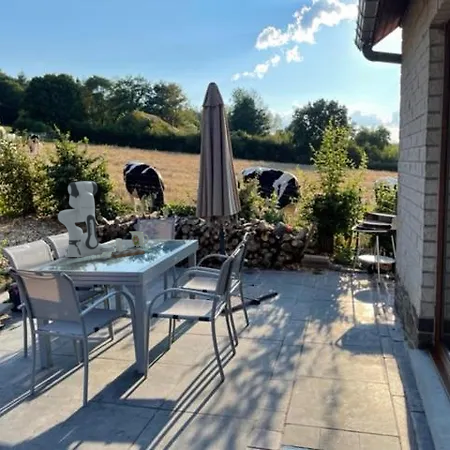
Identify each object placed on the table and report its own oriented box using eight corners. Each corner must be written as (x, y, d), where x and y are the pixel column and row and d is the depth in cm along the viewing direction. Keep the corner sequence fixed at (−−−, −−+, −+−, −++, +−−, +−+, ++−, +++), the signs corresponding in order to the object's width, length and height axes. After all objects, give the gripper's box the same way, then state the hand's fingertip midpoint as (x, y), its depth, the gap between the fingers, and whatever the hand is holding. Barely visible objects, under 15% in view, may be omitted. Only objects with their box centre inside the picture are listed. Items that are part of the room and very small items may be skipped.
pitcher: (146, 247, 417) (145, 232, 415) (127, 247, 420) (126, 232, 419) (150, 245, 427) (150, 230, 426) (132, 245, 431) (131, 230, 429)
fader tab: (118, 254, 376) (117, 239, 374) (116, 253, 381) (115, 238, 379) (123, 253, 378) (122, 239, 377) (120, 252, 383) (119, 238, 382)
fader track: (115, 257, 372) (115, 253, 372) (111, 256, 381) (110, 251, 380) (144, 253, 386) (144, 249, 386) (139, 252, 394) (139, 247, 394)
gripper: (102, 246, 360) (119, 244, 368) (94, 243, 377) (110, 241, 385) (103, 254, 361) (120, 252, 369) (94, 251, 378) (111, 249, 386)
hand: (115, 246), depth 377 cm, fingers closed
